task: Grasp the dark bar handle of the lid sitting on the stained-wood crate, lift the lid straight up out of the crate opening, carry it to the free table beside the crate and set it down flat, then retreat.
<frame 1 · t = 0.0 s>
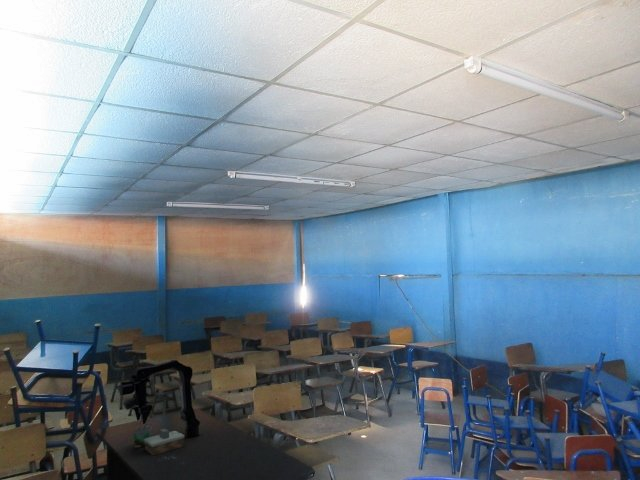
hand: (141, 422, 229), 15 cm above the table, fingers open, 9 cm apart
lid: (164, 441, 228), point 4 cm above the table, touching crate
food container: (145, 446, 235), on the table
crate: (164, 449, 228), on the table
jar: (170, 446, 230), point 1 cm above the table, touching crate
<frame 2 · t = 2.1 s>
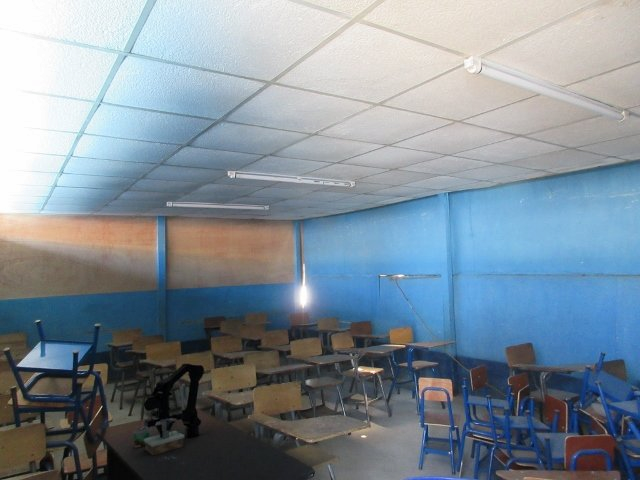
hand: (164, 436, 229), 7 cm above the table, fingers closed on lid, 3 cm apart
lid: (164, 441, 228), point 4 cm above the table, touching crate, gripper
everything else where it was.
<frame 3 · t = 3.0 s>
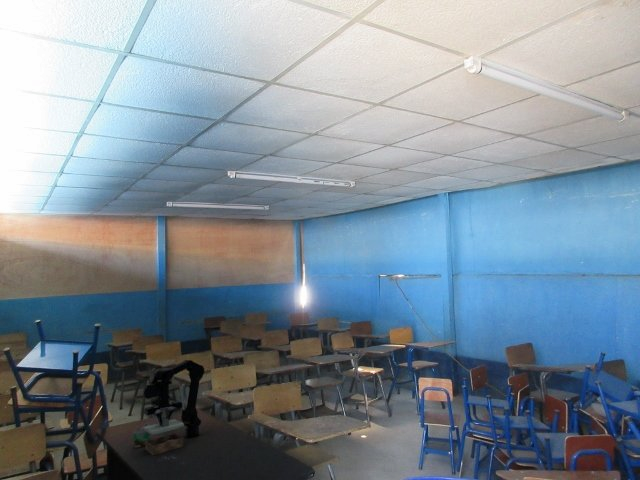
hand: (163, 424, 229), 13 cm above the table, fingers closed on lid, 3 cm apart
lid: (164, 429, 229), point 10 cm above the table, touching gripper
everything else where it was.
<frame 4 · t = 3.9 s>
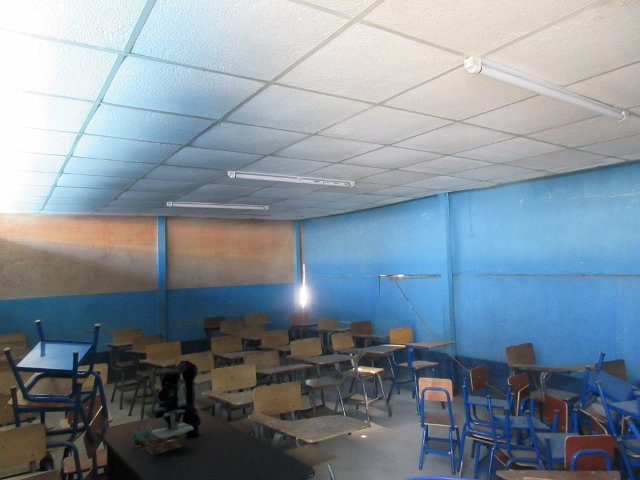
hand: (172, 428, 220), 13 cm above the table, fingers closed on lid, 3 cm apart
lid: (172, 433, 220), point 11 cm above the table, touching gripper
everything else where it was.
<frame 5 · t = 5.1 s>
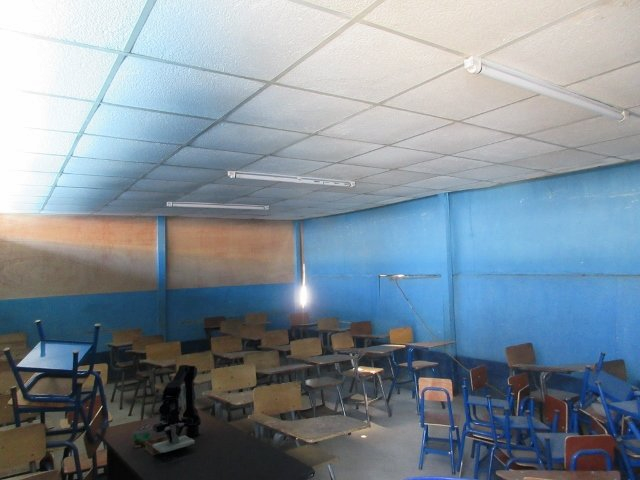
hand: (173, 441, 219), 7 cm above the table, fingers closed on lid, 3 cm apart
lid: (173, 447, 219), point 4 cm above the table, touching gripper
everything else where it was.
when the fingers open (4 cm above the table, at t = 5.9 s): lid drops 2 cm, on the table.
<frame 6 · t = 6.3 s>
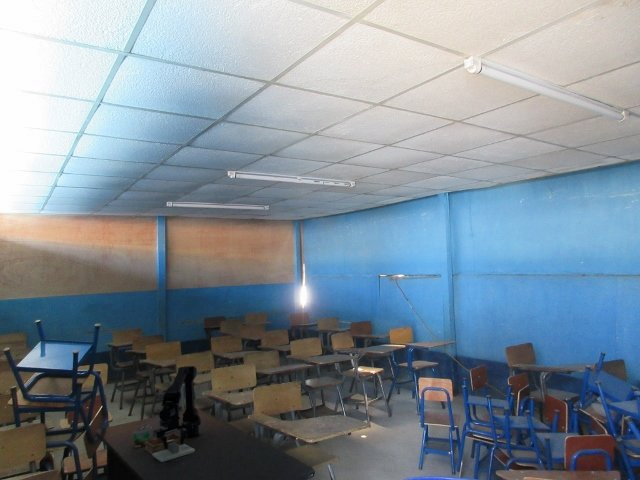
hand: (173, 447, 219), 4 cm above the table, fingers open, 8 cm apart
lid: (173, 455, 218), on the table
everything else where it was.
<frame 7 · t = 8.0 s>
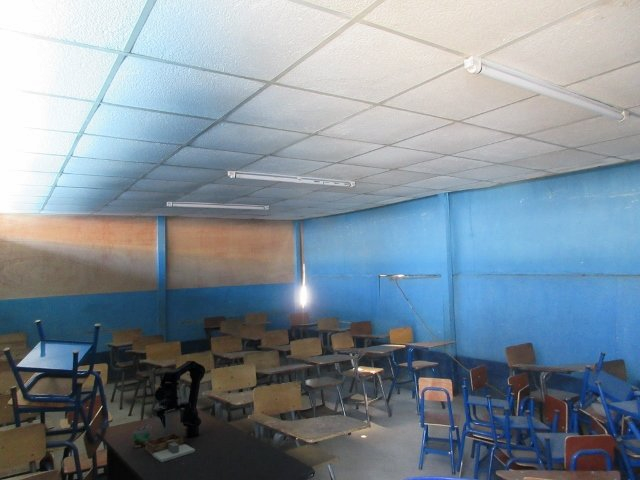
hand: (172, 425, 230), 12 cm above the table, fingers open, 9 cm apart
nothing on the table moved.
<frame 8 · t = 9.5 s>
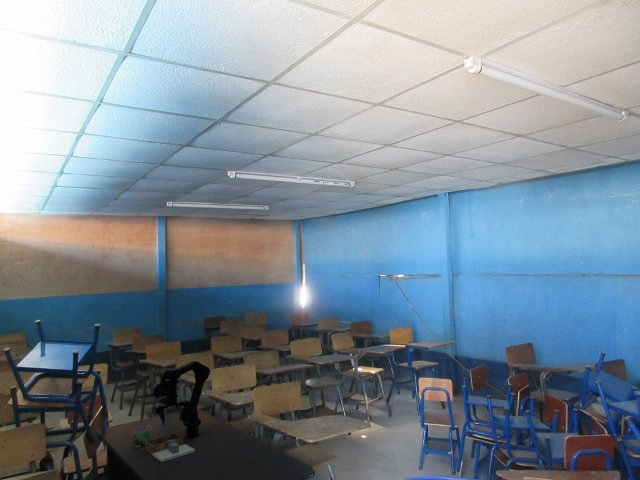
hand: (172, 422, 234), 12 cm above the table, fingers open, 9 cm apart
nothing on the table moved.
at the end: lid inside the target area (0.5 cm from its centre), on the table; lid tilted 0°; the gripper is holding nothing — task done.
